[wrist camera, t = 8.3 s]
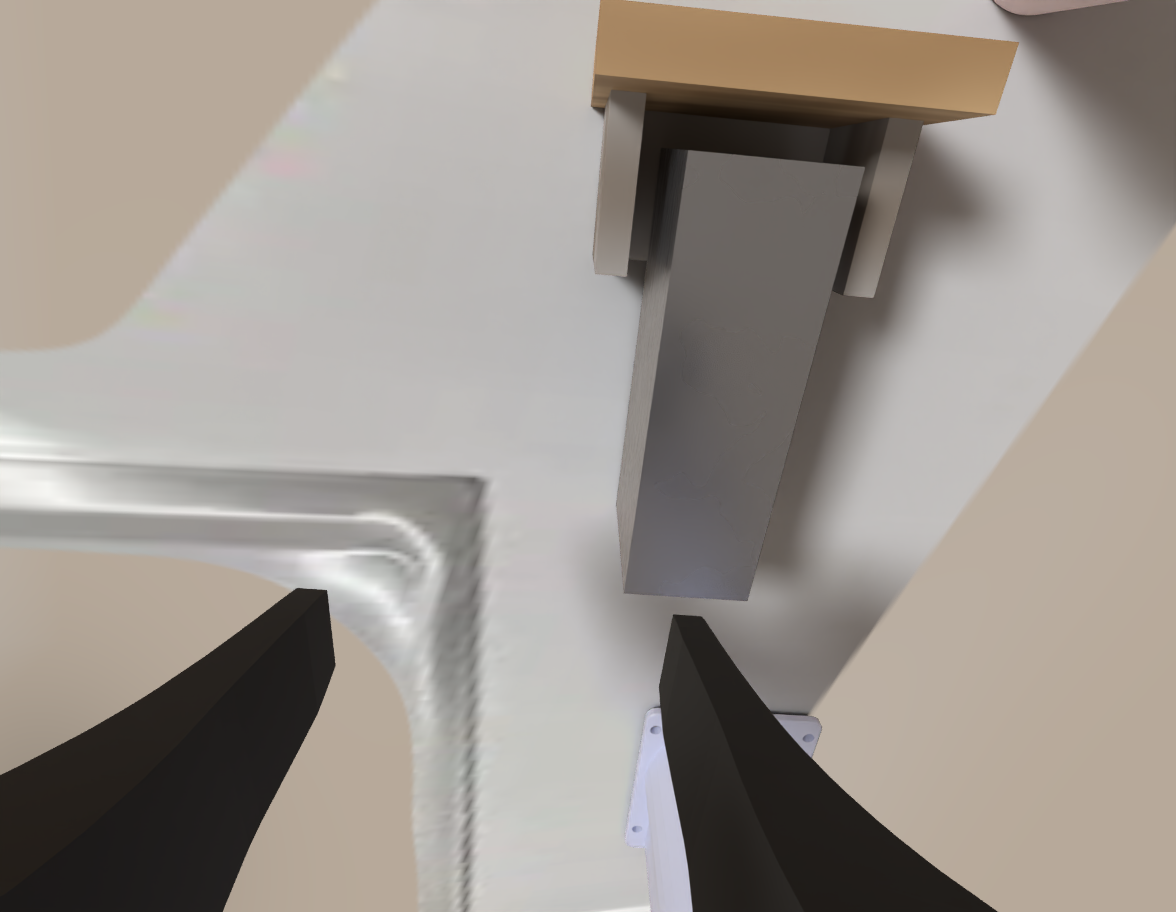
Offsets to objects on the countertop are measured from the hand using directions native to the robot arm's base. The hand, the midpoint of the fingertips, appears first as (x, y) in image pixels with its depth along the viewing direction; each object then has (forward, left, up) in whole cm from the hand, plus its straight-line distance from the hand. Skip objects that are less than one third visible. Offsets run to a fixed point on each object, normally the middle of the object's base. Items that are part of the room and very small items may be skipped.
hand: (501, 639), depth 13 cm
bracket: (+9, -5, -10) cm, 14 cm away
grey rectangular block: (+4, -5, -10) cm, 12 cm away
